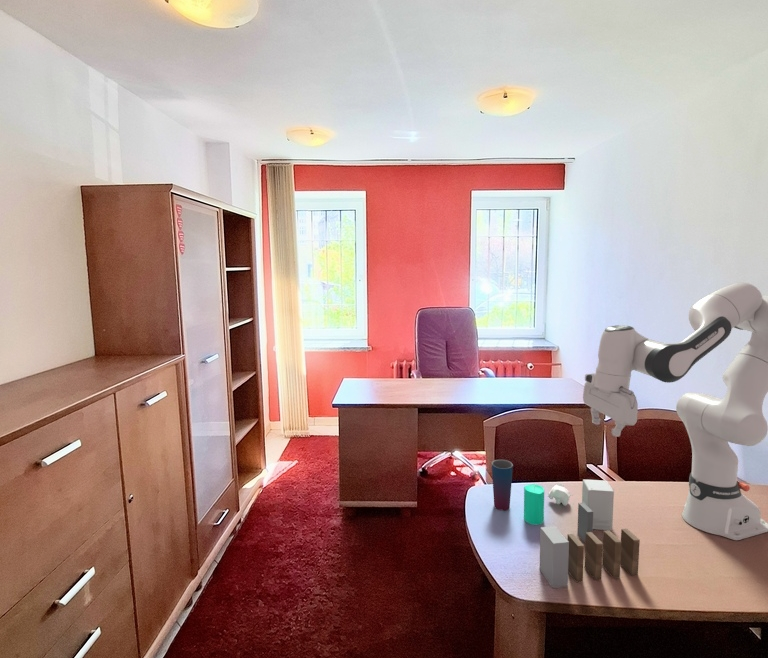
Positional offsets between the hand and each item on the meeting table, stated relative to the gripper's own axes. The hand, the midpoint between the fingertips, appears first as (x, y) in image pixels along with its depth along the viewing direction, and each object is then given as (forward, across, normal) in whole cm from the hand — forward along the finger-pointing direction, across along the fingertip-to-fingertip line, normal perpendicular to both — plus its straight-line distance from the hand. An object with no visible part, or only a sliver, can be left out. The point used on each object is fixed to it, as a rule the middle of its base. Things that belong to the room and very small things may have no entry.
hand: (605, 429), depth 128 cm
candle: (+34, +11, +12) cm, 38 cm away
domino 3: (+33, -15, +4) cm, 37 cm away
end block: (+35, -15, +19) cm, 42 cm away
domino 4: (+33, -15, -1) cm, 36 cm away
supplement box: (+33, +6, -5) cm, 34 cm away
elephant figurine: (+33, +19, 0) cm, 38 cm away
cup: (+35, +20, +20) cm, 45 cm away
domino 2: (+34, -15, +8) cm, 38 cm away
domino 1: (+34, -15, +14) cm, 40 cm away
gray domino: (+33, -1, +3) cm, 33 cm away
